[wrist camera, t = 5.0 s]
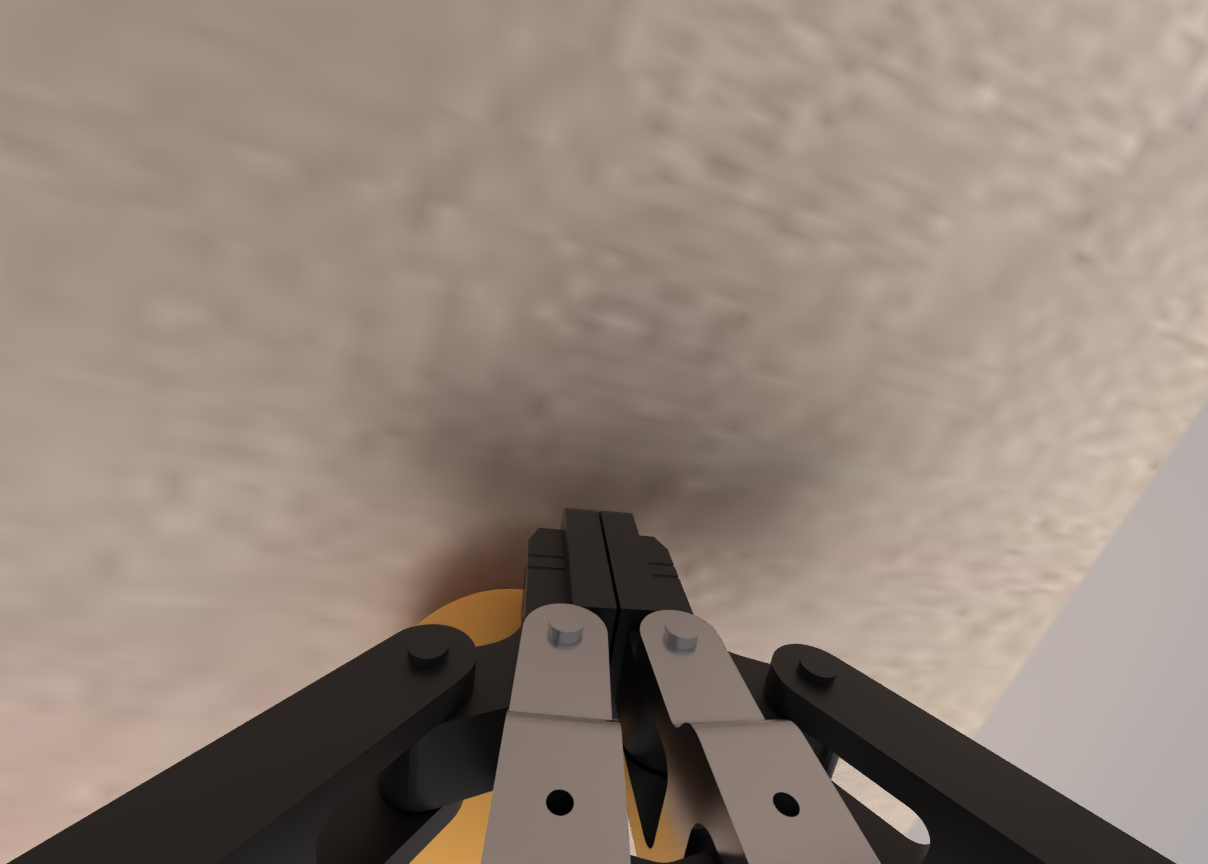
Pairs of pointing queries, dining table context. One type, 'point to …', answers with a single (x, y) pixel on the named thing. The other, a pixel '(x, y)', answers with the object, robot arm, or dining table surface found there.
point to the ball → (485, 621)
